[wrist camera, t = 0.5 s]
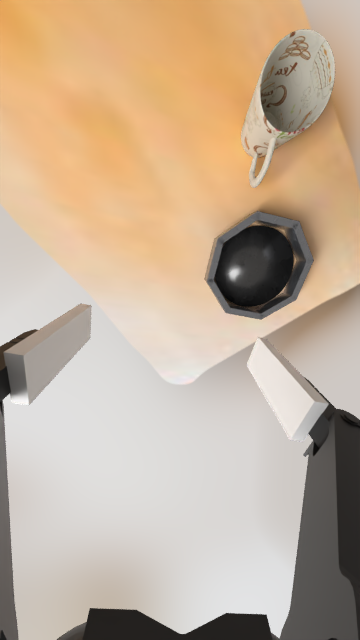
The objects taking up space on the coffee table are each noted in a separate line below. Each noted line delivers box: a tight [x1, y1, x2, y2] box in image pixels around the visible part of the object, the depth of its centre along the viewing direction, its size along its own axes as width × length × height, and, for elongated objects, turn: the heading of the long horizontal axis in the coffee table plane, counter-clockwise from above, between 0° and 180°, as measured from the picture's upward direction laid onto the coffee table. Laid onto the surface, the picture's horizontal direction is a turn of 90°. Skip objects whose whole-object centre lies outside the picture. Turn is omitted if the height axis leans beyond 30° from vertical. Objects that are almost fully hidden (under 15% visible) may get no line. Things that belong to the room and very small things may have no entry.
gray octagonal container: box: [205, 211, 314, 319], centre depth 36 cm, size 18×18×3 cm
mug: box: [241, 29, 335, 188], centre depth 26 cm, size 8×13×10 cm, turn 173°
